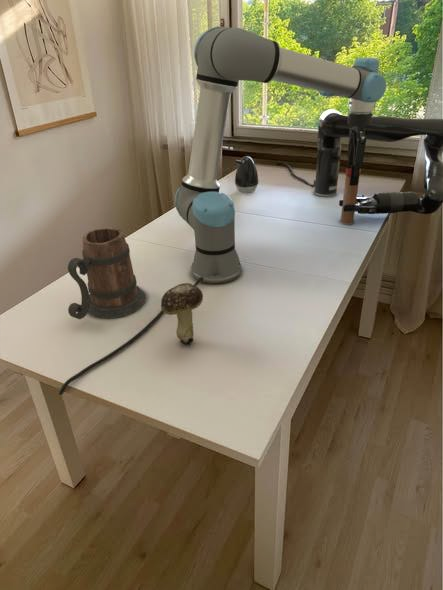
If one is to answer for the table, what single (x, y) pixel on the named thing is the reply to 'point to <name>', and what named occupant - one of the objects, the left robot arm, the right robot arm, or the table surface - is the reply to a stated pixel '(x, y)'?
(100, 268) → the tankard
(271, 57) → the left robot arm
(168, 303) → the mushroom
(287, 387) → the table surface
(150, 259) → the table surface
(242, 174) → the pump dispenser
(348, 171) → the lid
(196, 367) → the table surface
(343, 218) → the jar
